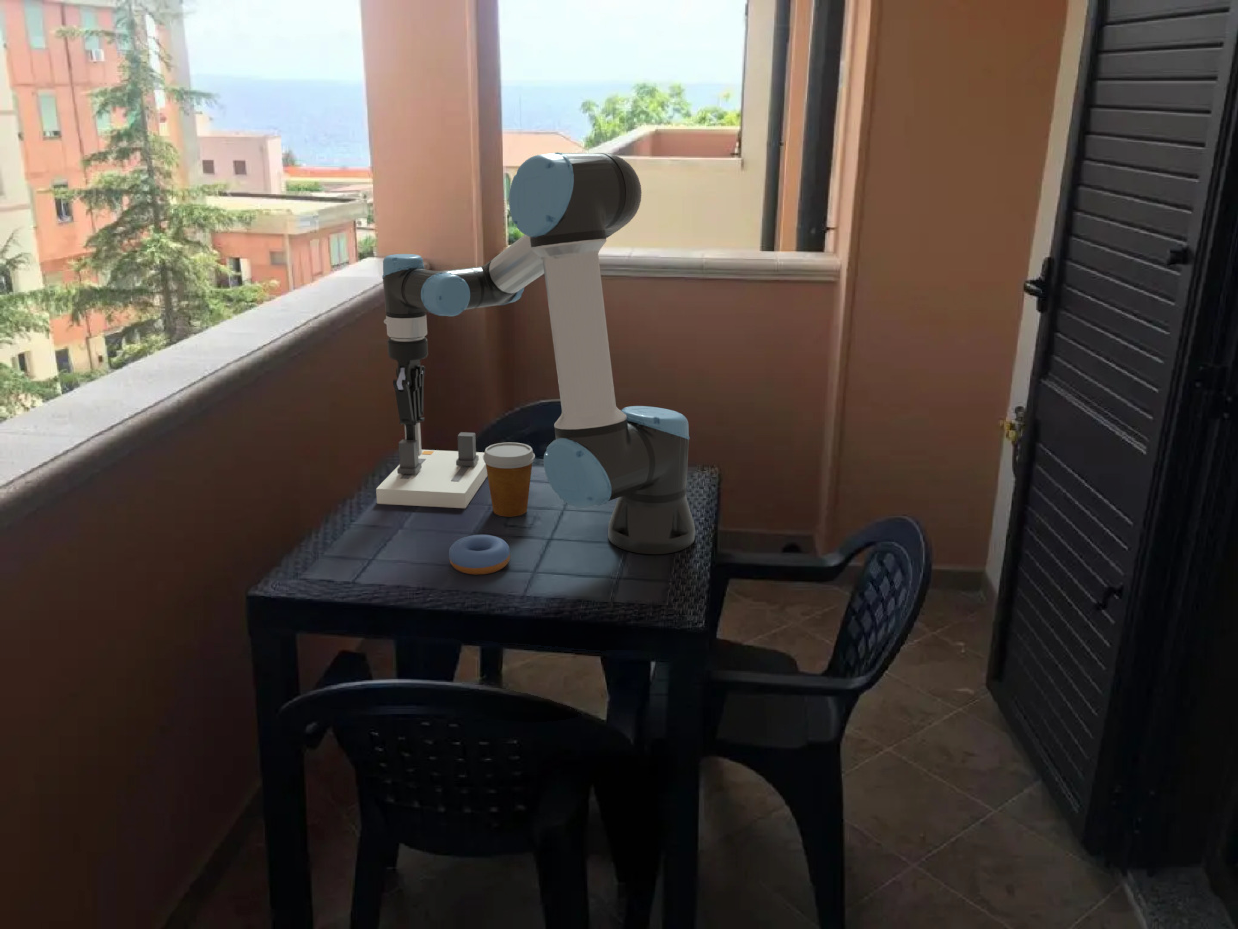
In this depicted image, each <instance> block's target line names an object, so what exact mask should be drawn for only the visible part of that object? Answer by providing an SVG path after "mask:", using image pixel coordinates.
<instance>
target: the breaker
mask: <svg viewBox="0 0 1238 929" xmlns="http://www.w3.org/2000/svg"><path fill="white" fill-rule="evenodd" d="M476 439H477V438H476V432H467V431H465V432H463V431H460V432H459V433H458V435H457V451H458V459H457V460H456V466H475V464H476V463H477V462H478V460H479V456H478V455H476V452H477V448H476V447H477V446H476V441H477V440H476Z"/></svg>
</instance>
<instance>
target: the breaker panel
mask: <svg viewBox="0 0 1238 929" xmlns="http://www.w3.org/2000/svg"><path fill="white" fill-rule="evenodd" d="M421 450H422V454H421V455H420V456H418V461H419V463H421V466H422V468H421V469H420V470H419V471H418V472H417V474H416V475H414V474H398V472H397V469H398V468H399V467H400V464H398V465H397V467H396V468H395V469H393V470H392V472H390V474H388V475H387V477H386V478H385V479H384V480H383V481H381V483H380V484H379V485H378V486H377V487H376V489H375V491H376V493H375V494H376V503H377V504H378V505H397V506H398V505H399V506H401V505H402V506H414V507H415V506H419V507H436V508H451V509H452V508H455V509H467V507H468V505H469V503H470V502H471V501H472V499H473V498H474V496H475V495H476V493H477V492H478V490H479V489H480V487H481V486H482V485H483V484H484V481H485V480H486V478H488V475H487V470H486V463H485V462H484V460H483V455H484V453H485V452H483V451H482V452H479V451H476V455H478V456H479V460H478V462H477V463H476V464H475V466H456V460H457V459H458V450H441V449H440V450H439V449H436V450H435V449H421Z"/></svg>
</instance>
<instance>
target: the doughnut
mask: <svg viewBox="0 0 1238 929" xmlns="http://www.w3.org/2000/svg"><path fill="white" fill-rule="evenodd" d="M448 558H449V564H451V566H452V567H453V568H454V569H455V570H457V571H458V572H460V573H464V574H467V575H477V576H478V575H488V574H492V573H495V572H498V571H500V570H502V569H503V568H505V567H506V566H507V565H508V563H509V562H510V560H511V551H510V546H509V544H508V543H507V542H506V541H505V540H504V539H502V538H501V537H499V536H495V535H490V534H473V535H468V536H464V537H461V538H459V539H457V540H455V542H453V543H452V545H451V546H450V547H449V550H448Z"/></svg>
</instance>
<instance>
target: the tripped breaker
mask: <svg viewBox="0 0 1238 929" xmlns="http://www.w3.org/2000/svg"><path fill="white" fill-rule="evenodd" d="M398 454H399V455H398V456H399V457H398V458H399V465H400V467H399V468H398V469H397V472H398V474H414V475H416V474H417V472H418V471H419V470H420V469H421V468H422V466H421V463H419V461H418V443H417V440H405V439H401V440H400V441H399V442H398Z"/></svg>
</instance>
